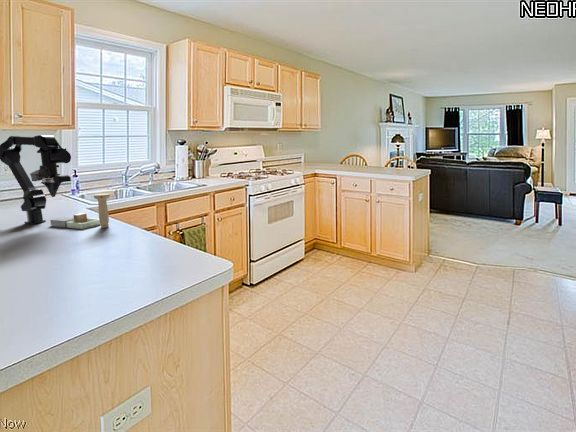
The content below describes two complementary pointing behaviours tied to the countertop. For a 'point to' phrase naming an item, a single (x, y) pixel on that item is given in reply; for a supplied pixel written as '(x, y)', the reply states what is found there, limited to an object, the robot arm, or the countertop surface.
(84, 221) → the tan block
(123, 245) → the countertop surface
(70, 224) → the tray
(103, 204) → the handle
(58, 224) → the slate platform
